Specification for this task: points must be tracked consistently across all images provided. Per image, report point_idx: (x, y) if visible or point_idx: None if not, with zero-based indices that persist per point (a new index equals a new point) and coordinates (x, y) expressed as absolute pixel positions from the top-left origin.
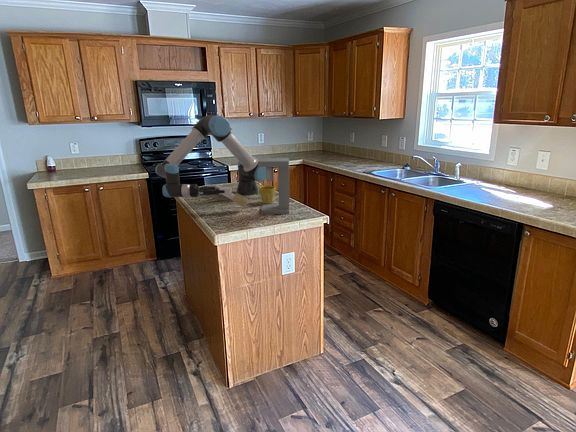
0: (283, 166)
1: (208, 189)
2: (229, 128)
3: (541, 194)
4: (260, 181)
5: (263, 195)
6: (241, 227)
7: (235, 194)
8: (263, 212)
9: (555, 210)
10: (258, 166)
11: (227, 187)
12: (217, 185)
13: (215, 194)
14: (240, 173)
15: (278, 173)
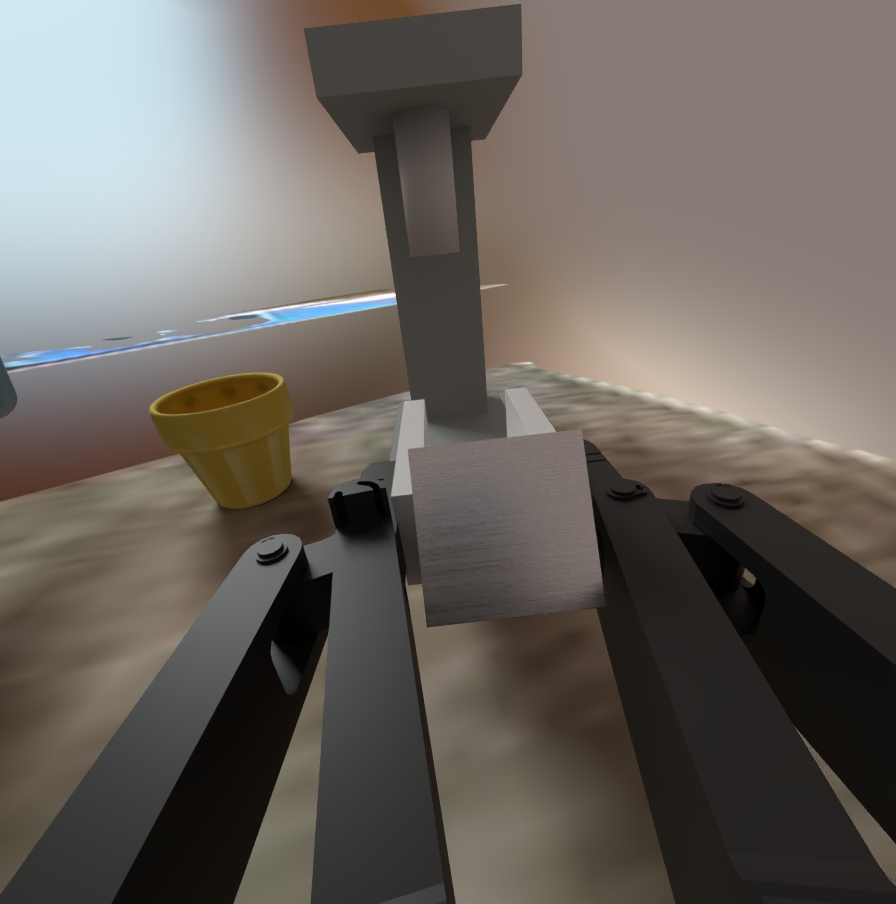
0: (488, 130)
1: (790, 774)
2: None
3: (362, 294)
4: (9, 413)
5: (271, 441)
6: (887, 490)
7: (505, 437)
8: None
9: None
10: (521, 70)
11: (402, 425)
12: (479, 443)
13: (739, 587)
14: None
15: (472, 185)
